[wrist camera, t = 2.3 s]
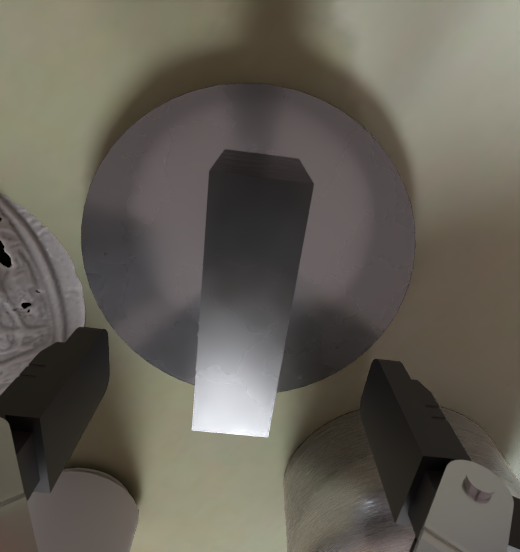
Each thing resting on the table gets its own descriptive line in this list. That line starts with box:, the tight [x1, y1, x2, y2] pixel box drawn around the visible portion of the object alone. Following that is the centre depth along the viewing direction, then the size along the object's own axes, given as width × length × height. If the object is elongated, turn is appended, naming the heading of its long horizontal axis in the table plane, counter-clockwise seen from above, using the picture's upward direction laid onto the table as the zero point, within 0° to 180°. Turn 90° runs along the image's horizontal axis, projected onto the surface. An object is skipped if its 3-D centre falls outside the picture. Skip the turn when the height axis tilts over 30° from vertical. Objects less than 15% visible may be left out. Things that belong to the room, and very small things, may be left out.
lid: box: [81, 83, 415, 437], centre depth 16 cm, size 15×15×7 cm
